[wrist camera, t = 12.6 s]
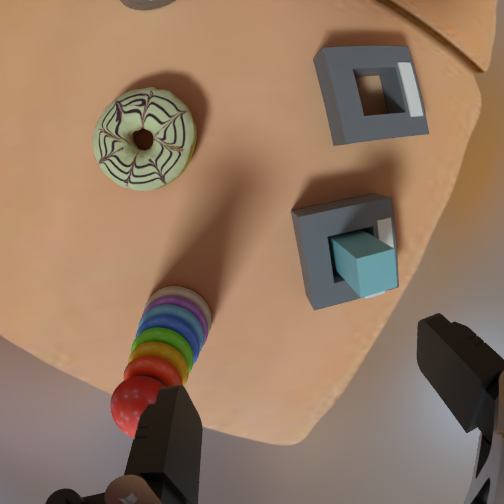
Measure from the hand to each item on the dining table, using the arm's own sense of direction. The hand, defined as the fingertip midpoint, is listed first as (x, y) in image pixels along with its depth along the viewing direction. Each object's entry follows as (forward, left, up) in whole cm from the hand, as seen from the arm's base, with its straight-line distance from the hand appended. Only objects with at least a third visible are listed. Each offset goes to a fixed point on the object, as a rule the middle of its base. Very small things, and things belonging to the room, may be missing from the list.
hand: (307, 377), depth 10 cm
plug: (+4, +9, -26) cm, 27 cm away
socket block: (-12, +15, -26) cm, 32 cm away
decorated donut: (-12, -9, -26) cm, 30 cm away
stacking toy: (+8, -11, -26) cm, 29 cm away
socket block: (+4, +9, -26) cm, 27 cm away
